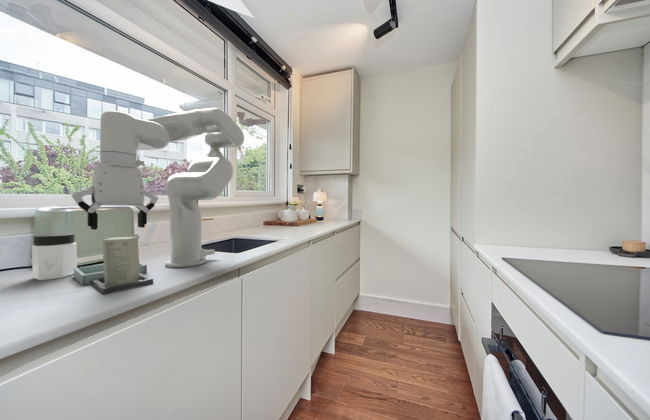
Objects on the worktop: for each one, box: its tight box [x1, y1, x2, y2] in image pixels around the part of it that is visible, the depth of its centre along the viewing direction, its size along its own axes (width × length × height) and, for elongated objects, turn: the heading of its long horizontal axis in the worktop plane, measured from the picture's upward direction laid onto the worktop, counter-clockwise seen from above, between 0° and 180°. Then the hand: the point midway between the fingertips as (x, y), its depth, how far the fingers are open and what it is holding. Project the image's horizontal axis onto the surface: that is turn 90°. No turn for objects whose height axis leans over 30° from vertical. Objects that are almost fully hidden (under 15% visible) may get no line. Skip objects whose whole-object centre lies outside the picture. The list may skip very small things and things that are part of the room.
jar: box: [31, 232, 78, 281], centre depth 72 cm, size 9×8×12 cm
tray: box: [73, 261, 148, 286], centre depth 73 cm, size 14×12×2 cm
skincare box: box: [102, 236, 141, 287], centre depth 65 cm, size 6×4×12 cm
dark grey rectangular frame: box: [90, 272, 154, 295], centre depth 65 cm, size 10×12×1 cm
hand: (119, 228), depth 64 cm, fingers open, 9 cm apart
